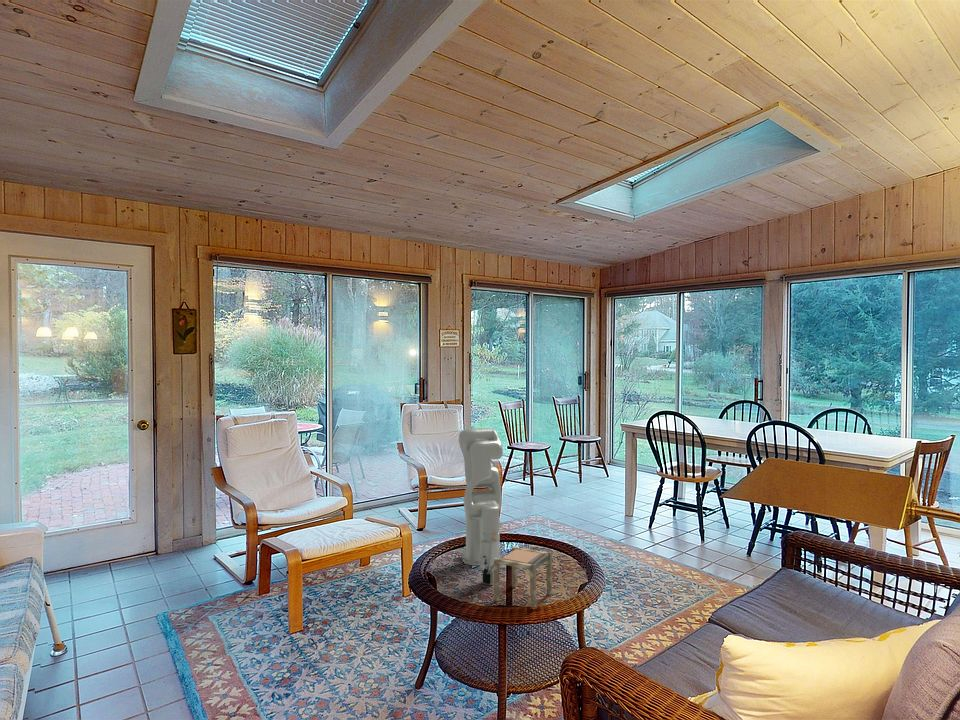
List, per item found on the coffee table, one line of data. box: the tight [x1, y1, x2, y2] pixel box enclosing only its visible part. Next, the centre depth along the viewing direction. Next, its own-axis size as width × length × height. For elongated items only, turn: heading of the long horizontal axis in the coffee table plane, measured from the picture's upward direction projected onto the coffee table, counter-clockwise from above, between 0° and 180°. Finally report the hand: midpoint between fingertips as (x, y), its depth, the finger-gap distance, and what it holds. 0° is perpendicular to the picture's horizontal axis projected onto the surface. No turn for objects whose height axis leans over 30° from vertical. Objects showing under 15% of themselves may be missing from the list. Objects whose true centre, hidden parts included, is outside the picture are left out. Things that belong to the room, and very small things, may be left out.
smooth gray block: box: [481, 564, 494, 586], centre depth 217 cm, size 5×5×6 cm
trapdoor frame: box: [493, 546, 553, 608], centre depth 202 cm, size 17×17×16 cm
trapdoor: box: [501, 549, 544, 565], centre depth 202 cm, size 12×12×1 cm
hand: (490, 579), depth 217 cm, fingers open, 6 cm apart
